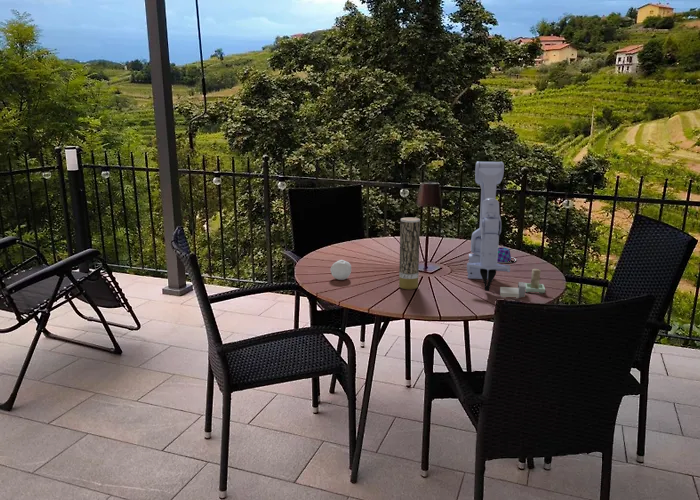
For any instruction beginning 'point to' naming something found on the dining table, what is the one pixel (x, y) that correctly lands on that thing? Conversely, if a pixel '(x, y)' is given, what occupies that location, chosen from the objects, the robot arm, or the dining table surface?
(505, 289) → the tile
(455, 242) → the dining table surface
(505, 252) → the multicoloured piece
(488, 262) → the robot arm
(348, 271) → the white lumpy ball
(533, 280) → the dowel
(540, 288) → the tray
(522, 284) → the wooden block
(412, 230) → the paper tube
